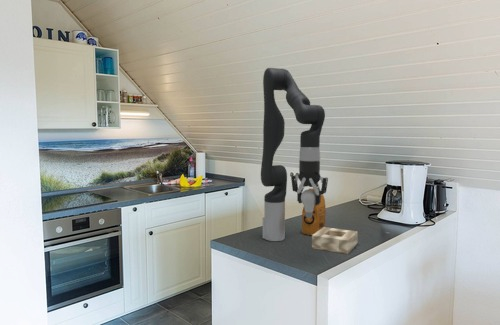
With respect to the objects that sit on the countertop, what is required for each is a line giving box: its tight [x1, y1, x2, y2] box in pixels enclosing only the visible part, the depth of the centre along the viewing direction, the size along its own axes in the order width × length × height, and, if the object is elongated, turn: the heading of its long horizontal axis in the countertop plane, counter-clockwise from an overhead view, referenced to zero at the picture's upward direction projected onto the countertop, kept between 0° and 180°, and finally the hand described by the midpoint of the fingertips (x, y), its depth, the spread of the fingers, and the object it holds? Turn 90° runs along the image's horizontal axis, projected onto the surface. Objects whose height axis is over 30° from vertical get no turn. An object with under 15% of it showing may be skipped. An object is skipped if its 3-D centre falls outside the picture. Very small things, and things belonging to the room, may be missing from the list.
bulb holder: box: [311, 226, 359, 255], centre depth 155 cm, size 15×15×6 cm
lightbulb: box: [301, 188, 316, 218], centre depth 137 cm, size 6×6×11 cm
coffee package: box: [301, 187, 327, 236], centre depth 175 cm, size 10×12×22 cm
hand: (308, 203), depth 137 cm, fingers closed on lightbulb, 6 cm apart
